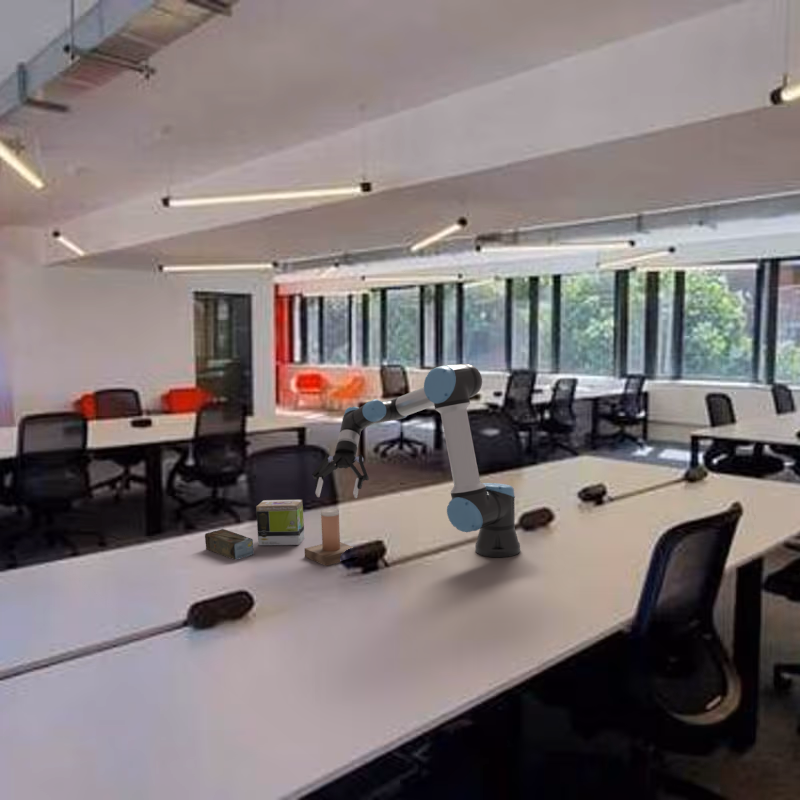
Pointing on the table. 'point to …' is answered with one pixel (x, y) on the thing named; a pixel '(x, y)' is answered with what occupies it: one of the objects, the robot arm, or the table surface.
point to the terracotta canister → (330, 529)
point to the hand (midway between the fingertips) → (336, 495)
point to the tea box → (280, 522)
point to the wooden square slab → (325, 554)
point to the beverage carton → (229, 544)
